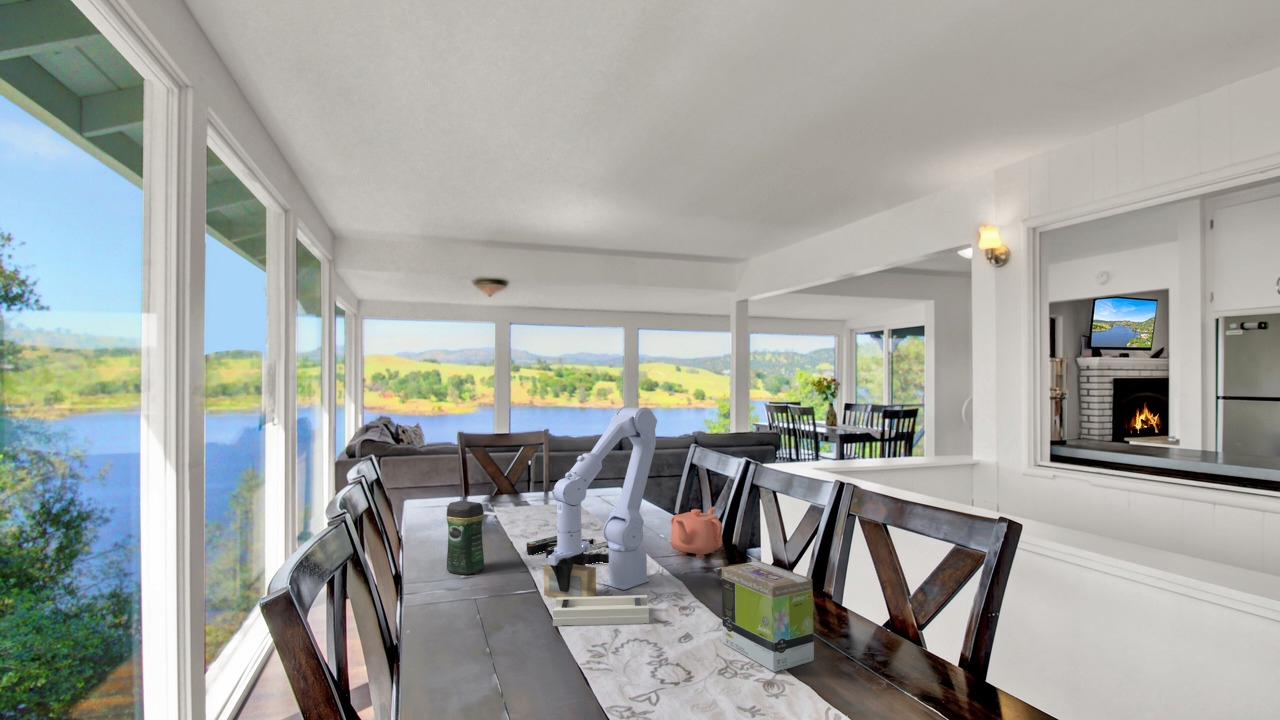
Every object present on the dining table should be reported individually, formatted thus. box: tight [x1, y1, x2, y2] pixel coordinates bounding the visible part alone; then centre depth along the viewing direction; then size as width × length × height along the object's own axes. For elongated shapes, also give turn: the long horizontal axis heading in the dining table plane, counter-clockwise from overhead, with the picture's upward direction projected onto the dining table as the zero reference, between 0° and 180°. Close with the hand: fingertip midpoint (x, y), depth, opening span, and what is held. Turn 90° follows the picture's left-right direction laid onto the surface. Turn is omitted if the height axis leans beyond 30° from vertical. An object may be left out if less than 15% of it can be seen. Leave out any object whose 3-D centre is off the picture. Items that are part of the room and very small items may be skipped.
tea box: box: [721, 560, 815, 673], centre depth 118 cm, size 15×10×15 cm, turn 30°
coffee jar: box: [446, 500, 485, 575], centre depth 172 cm, size 10×8×19 cm
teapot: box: [670, 506, 724, 559], centre depth 186 cm, size 15×17×13 cm
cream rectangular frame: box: [552, 594, 650, 627], centre depth 137 cm, size 20×9×3 cm, turn 92°
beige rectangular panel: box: [543, 563, 597, 598], centre depth 150 cm, size 4×12×7 cm, turn 62°
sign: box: [526, 535, 609, 565], centre depth 185 cm, size 19×3×30 cm
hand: (569, 588), depth 150 cm, fingers closed on beige rectangular panel, 4 cm apart
